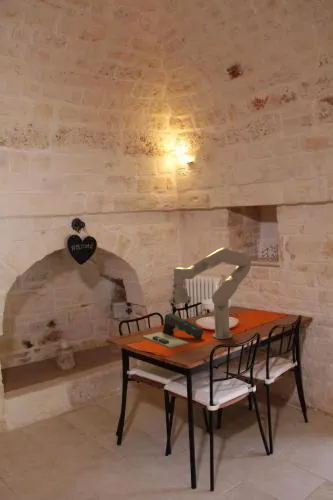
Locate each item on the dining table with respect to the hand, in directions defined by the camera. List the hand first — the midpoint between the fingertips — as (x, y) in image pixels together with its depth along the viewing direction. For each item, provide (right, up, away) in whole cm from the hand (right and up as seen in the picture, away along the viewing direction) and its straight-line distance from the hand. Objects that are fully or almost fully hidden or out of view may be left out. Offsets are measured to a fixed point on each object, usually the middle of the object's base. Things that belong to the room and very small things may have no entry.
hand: (180, 311), depth 321 cm
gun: (+2, -17, +1) cm, 17 cm away
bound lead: (-13, -18, -10) cm, 24 cm away
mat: (-10, -18, -6) cm, 22 cm away
